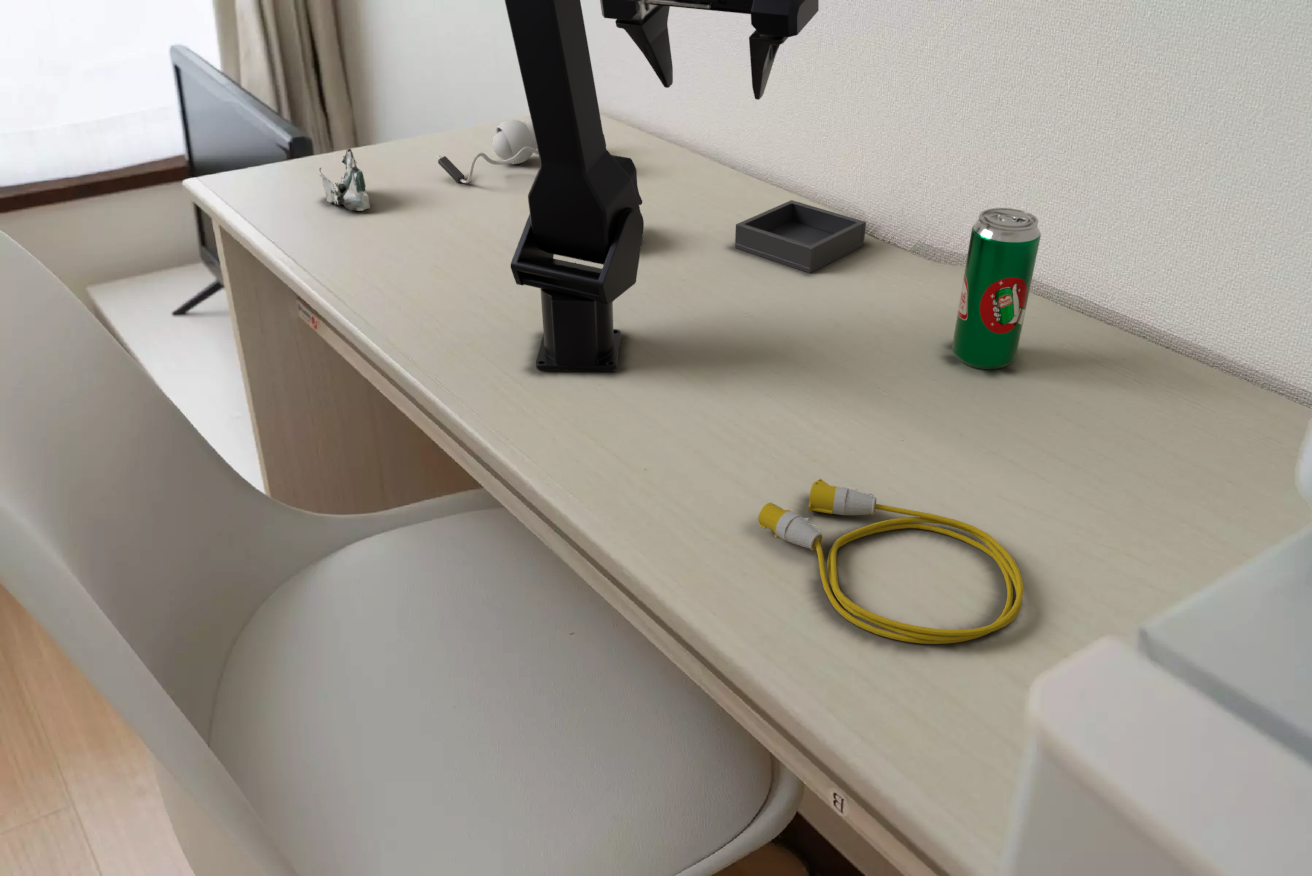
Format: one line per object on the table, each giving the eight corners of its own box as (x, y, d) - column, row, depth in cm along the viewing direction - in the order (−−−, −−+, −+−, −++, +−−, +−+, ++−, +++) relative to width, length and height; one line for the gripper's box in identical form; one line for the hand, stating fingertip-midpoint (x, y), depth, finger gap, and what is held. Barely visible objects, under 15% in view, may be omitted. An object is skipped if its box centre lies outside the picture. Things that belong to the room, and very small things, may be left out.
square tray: (810, 273, 101) (812, 248, 100) (734, 247, 106) (735, 224, 105) (864, 245, 107) (866, 221, 105) (790, 222, 112) (791, 199, 111)
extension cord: (901, 473, 73) (904, 448, 72) (1065, 614, 61) (1072, 588, 60) (745, 518, 69) (746, 493, 68) (889, 681, 57) (893, 653, 56)
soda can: (961, 337, 90) (985, 201, 83) (1022, 352, 88) (1051, 213, 81) (942, 362, 86) (965, 221, 80) (1005, 378, 84) (1033, 235, 77)
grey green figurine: (352, 190, 121) (342, 129, 117) (375, 211, 115) (365, 148, 111) (315, 197, 119) (303, 135, 115) (336, 219, 113) (325, 155, 110)
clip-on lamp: (474, 222, 120) (613, 164, 125) (459, 173, 116) (603, 114, 121) (439, 182, 128) (571, 128, 133) (423, 134, 124) (560, 81, 129)
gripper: (842, -114, 89) (838, 65, 100) (645, -123, 97) (661, 44, 107) (793, -67, 82) (795, 120, 93) (585, -80, 90) (609, 94, 100)
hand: (713, 91), depth 99 cm, fingers open, 9 cm apart
